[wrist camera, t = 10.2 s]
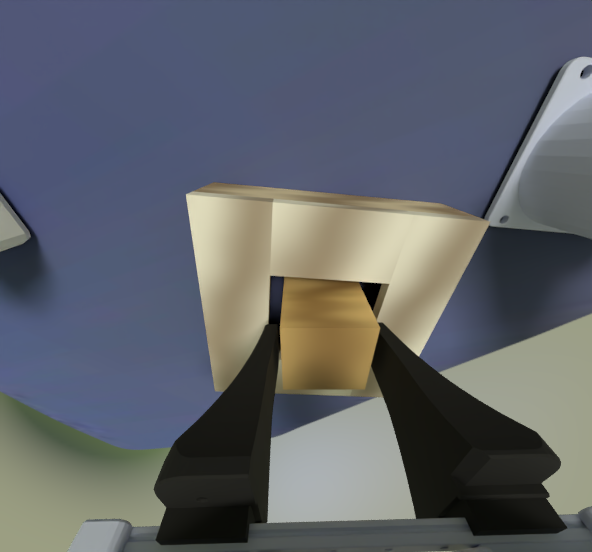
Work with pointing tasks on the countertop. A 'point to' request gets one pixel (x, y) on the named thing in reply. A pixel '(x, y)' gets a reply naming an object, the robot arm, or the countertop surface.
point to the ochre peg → (326, 335)
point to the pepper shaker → (11, 227)
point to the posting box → (321, 262)
